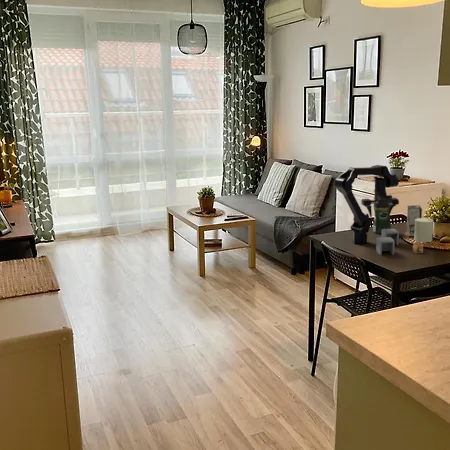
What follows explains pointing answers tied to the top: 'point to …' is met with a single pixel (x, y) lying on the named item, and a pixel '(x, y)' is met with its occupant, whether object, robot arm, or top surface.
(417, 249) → the letter cube
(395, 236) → the grey arch block
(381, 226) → the coffee jar
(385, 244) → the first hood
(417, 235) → the can
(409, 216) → the coffee box
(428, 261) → the top surface
